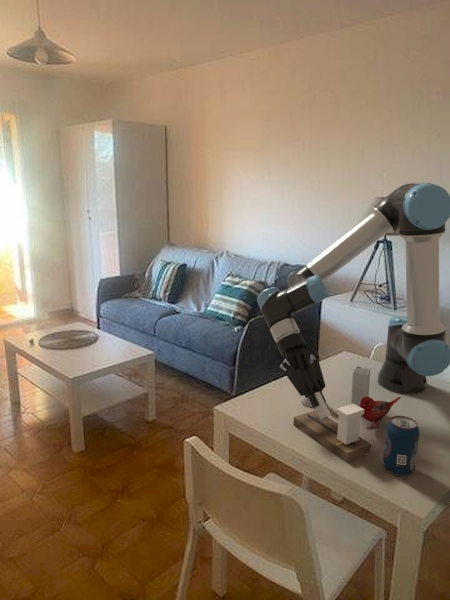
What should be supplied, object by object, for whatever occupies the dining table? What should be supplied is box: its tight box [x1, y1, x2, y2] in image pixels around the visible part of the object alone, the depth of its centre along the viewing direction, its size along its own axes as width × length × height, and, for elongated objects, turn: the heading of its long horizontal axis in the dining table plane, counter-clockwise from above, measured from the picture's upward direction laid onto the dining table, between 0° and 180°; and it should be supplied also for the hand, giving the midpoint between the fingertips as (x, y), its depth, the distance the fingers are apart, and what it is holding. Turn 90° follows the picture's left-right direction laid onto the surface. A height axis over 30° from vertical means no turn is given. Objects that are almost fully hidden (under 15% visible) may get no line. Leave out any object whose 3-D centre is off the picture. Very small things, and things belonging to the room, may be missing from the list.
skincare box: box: [350, 366, 371, 406], centre depth 133 cm, size 6×4×12 cm
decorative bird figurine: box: [359, 396, 402, 429], centre depth 124 cm, size 3×18×10 cm, turn 123°
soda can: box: [383, 415, 420, 477], centre depth 105 cm, size 7×7×12 cm
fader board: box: [292, 409, 372, 463], centre depth 118 cm, size 20×8×3 cm, turn 30°
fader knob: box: [336, 403, 364, 445], centre depth 112 cm, size 4×6×8 cm, turn 120°
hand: (325, 417), depth 119 cm, fingers closed
